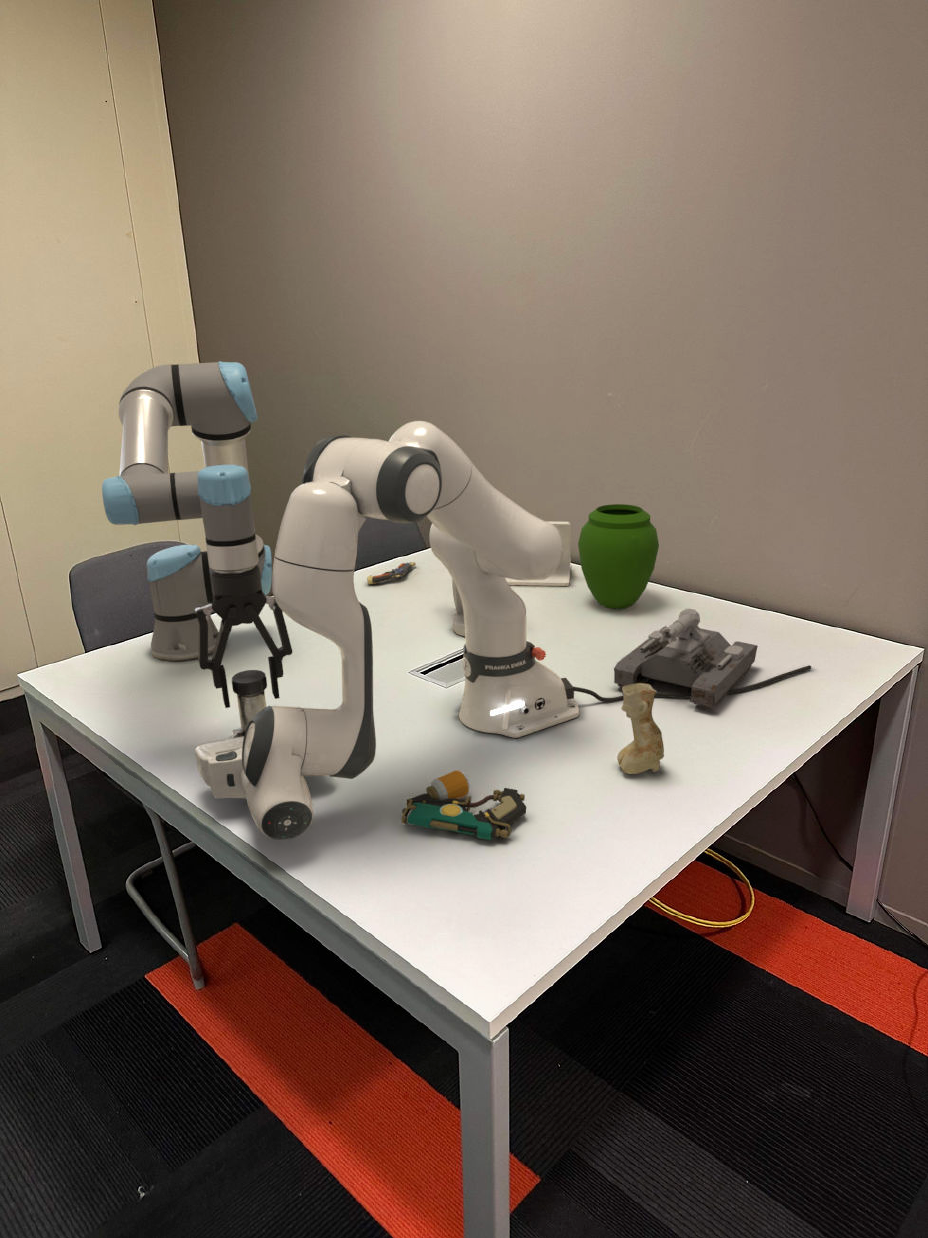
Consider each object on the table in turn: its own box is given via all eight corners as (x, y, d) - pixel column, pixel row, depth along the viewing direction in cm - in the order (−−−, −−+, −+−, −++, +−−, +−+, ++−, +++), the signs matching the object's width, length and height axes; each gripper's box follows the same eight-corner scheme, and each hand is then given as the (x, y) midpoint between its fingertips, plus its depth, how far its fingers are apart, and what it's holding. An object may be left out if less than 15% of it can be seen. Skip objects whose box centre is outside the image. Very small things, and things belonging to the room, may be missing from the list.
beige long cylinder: (278, 764, 145) (268, 680, 140) (256, 775, 142) (245, 689, 136) (263, 756, 148) (252, 673, 142) (241, 766, 145) (229, 681, 139)
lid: (241, 698, 136) (239, 686, 136) (227, 687, 140) (225, 675, 140) (272, 689, 139) (271, 677, 139) (258, 678, 143) (256, 666, 143)
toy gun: (364, 577, 233) (399, 574, 231) (383, 561, 251) (416, 558, 249) (366, 586, 234) (400, 583, 232) (384, 570, 252) (417, 567, 250)
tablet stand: (569, 585, 229) (570, 524, 223) (476, 584, 232) (475, 523, 226) (570, 566, 246) (571, 508, 240) (484, 564, 249) (483, 507, 243)
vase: (599, 587, 227) (601, 497, 218) (668, 600, 216) (673, 505, 208) (562, 608, 212) (564, 513, 204) (634, 623, 202) (639, 523, 193)
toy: (664, 648, 187) (668, 583, 182) (755, 667, 176) (762, 599, 171) (612, 690, 168) (615, 619, 163) (711, 715, 157) (717, 639, 152)
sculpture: (613, 761, 142) (616, 680, 137) (655, 758, 143) (660, 676, 138) (623, 780, 137) (627, 695, 132) (667, 776, 138) (672, 692, 132)
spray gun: (537, 812, 130) (487, 868, 119) (446, 778, 138) (391, 827, 127) (539, 789, 129) (488, 844, 117) (446, 756, 137) (390, 804, 125)
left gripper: (294, 552, 139) (307, 680, 147) (165, 569, 132) (186, 702, 141) (303, 564, 133) (316, 697, 141) (168, 582, 126) (190, 721, 134)
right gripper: (332, 736, 134) (314, 701, 146) (198, 764, 127) (190, 724, 139) (336, 772, 136) (317, 734, 148) (203, 801, 129) (195, 758, 141)
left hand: (251, 699), depth 141 cm, fingers open, 7 cm apart
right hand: (254, 729), depth 143 cm, fingers closed on beige long cylinder, 4 cm apart
